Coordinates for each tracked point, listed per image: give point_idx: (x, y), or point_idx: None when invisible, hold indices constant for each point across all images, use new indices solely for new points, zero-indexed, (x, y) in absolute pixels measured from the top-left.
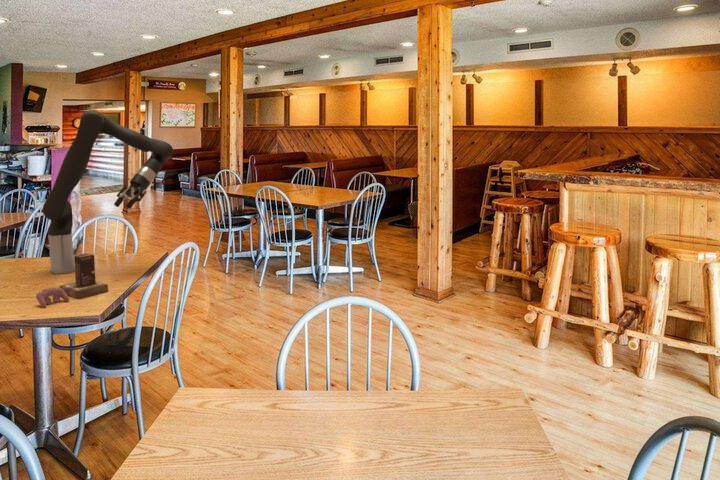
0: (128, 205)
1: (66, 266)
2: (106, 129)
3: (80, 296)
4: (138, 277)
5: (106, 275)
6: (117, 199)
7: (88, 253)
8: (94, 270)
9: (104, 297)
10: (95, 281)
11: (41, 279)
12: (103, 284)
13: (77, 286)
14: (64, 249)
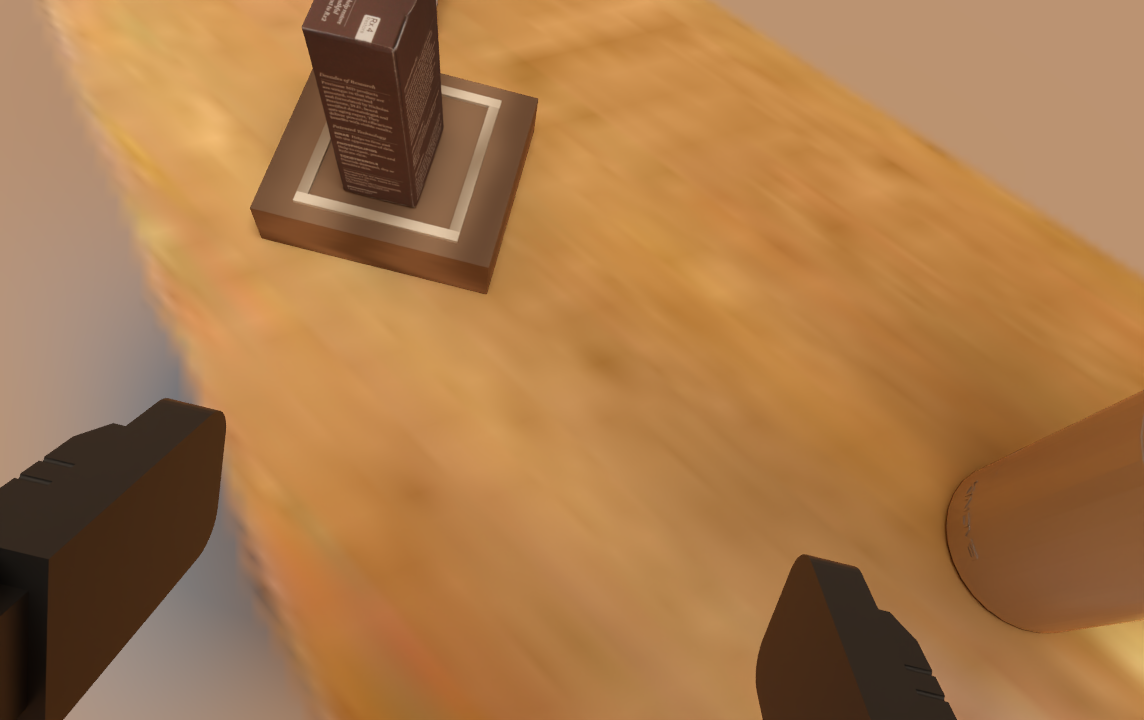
0: (121, 427)
1: (978, 496)
2: None
3: None
4: (301, 646)
5: (618, 585)
6: (904, 693)
7: (389, 45)
8: (327, 121)
9: (197, 140)
10: (394, 238)
11: (928, 319)
12: (279, 198)
13: None
14: (1083, 448)
